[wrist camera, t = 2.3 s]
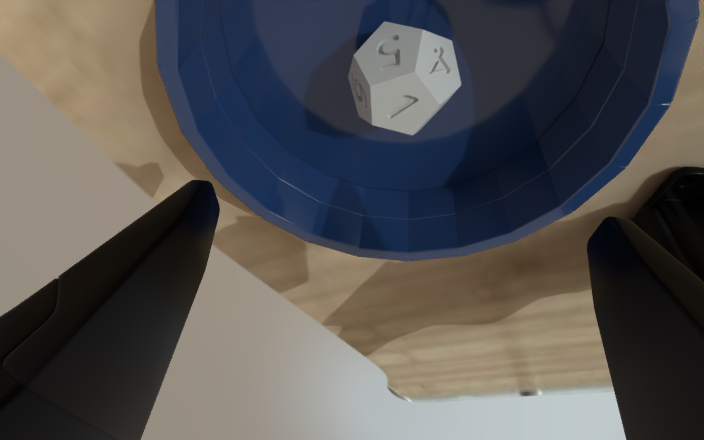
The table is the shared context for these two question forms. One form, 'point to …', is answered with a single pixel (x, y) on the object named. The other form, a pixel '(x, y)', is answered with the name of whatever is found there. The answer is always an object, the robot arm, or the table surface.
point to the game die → (403, 77)
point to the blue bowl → (439, 132)
